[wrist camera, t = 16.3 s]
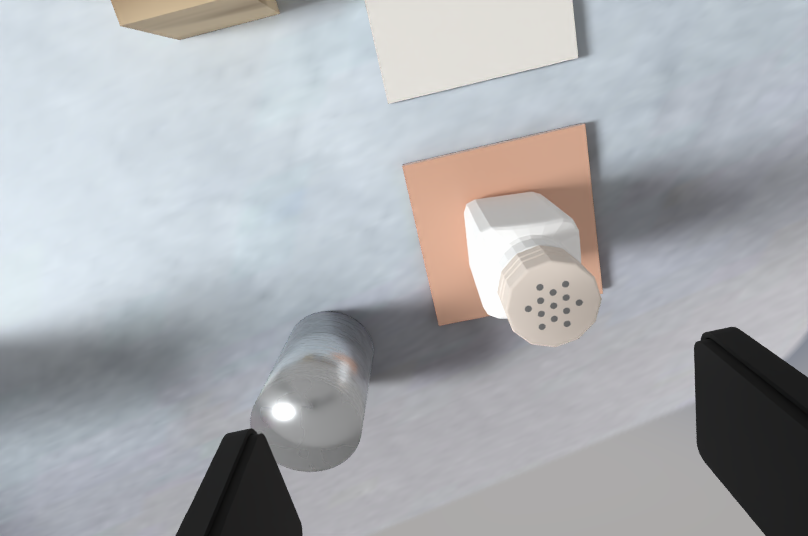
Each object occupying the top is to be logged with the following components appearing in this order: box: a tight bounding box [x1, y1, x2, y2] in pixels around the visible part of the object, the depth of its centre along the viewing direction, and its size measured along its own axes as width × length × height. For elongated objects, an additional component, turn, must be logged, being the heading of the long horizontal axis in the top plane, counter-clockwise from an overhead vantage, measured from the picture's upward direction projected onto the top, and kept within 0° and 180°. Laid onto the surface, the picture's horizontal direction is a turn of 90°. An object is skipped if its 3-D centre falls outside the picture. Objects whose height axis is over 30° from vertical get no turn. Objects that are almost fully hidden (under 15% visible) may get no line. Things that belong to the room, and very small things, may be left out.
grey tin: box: [250, 311, 374, 472], centre depth 25 cm, size 5×5×7 cm
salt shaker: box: [464, 192, 602, 347], centre depth 21 cm, size 4×4×10 cm
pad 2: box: [402, 123, 603, 326], centre depth 26 cm, size 9×9×1 cm
